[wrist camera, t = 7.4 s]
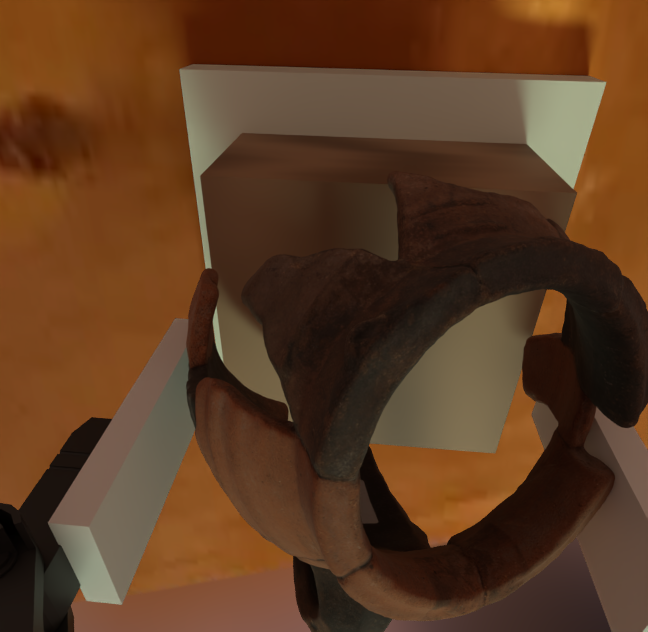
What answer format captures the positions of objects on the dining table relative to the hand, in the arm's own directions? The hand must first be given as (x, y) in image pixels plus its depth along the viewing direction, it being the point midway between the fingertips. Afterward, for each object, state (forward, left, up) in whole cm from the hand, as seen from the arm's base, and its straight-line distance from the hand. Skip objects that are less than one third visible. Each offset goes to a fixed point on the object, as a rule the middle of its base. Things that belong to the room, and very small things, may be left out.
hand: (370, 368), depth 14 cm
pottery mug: (0, +1, 0) cm, 1 cm away
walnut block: (0, 0, -7) cm, 7 cm away
